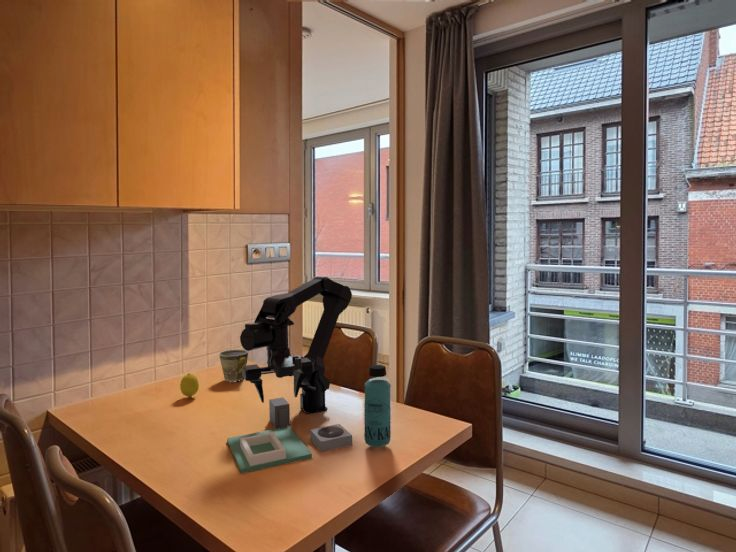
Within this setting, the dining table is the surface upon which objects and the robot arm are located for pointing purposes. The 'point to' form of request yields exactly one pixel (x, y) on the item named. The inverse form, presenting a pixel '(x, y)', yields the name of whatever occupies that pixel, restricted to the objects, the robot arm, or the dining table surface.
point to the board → (267, 449)
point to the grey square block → (330, 437)
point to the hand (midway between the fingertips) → (279, 399)
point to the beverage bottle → (377, 408)
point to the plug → (279, 412)
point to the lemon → (189, 385)
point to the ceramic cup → (233, 364)
